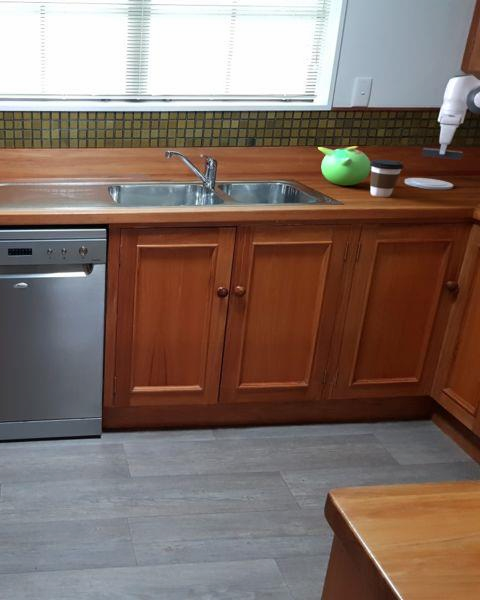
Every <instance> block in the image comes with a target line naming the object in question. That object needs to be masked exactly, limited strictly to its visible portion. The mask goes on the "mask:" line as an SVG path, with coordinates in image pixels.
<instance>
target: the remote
mask: <svg viewBox="0 0 480 600" xmlns="http://www.w3.org/2000/svg"><path fill="white" fill-rule="evenodd" d="M440 149H441V148H429V147H423V149H422V153H421V157H426V158H438V159H447V160H457V161H461V160H462V157H463V151H461V150H450V149H446V150H445V154H440Z"/></svg>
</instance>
